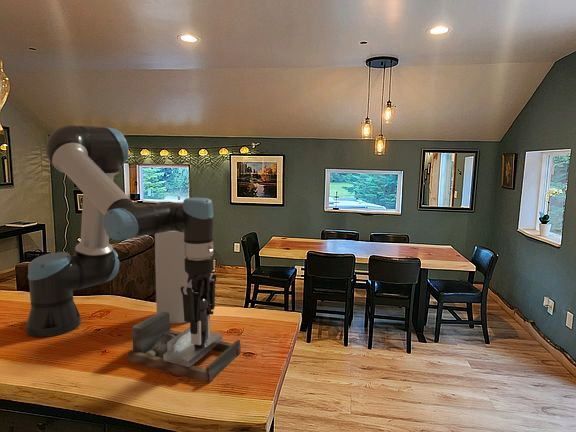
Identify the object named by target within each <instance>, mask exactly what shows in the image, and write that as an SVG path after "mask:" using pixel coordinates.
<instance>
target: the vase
mask: <svg viewBox="0 0 576 432" xmlns="http://www.w3.org/2000/svg"><path fill="white" fill-rule="evenodd" d="M154 250H155V251H154V254H155V255H154V256H155V257H154V260H155V261H154V262H155V302H156V303H155V304H156V314H157V313H159V312H161V311H162V312H167V313H169V318H170V325H177V324H179V325H180V324H185V323H186V322H185V321H184V309H183V295H182V292H181V287H182V286H183V287H185V286H186V285H187V284H188V283H187V280H188V274H187V273H186V272H185V262H184V259H185V258H186V257H185V256H184V232H178V231H167V232H162V233H156V234H154ZM196 293H197V292H196Z"/></svg>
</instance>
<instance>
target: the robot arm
mask: <svg viewBox="0 0 576 432" xmlns="http://www.w3.org/2000/svg"><path fill="white" fill-rule="evenodd" d="M128 144H129V143H128V141H127V139H126V137H125V135H124V134H123V133H122V132H121V131H120V130H119V129H117V128H112V127H107V126H92V125H88V126H87V125H77V124H67V125H63V126H61V127H58V128H56V129H55V130H53V131H52V132H51V133H50V135H49V136H48V137H47V140H46V142H45V154H46V157H47V159H48V161H49V162H50V164H51V165H52V166H53V168H54V169H56V170H57V171H58V172H60V173H64V174H66V176H67V177H68V178H69V179H70V180H71V181H72V182H73V184H75V186H76V187H77V188H78V189H79V190H80V191H81V192H82V207H81V209H82V212H81V228H80V241H79V242H78V244H76V245H75V247H74V254H71V253H69V252H66V251H57V252H51V253H46V254H43V255H40V256H37V257H35V258H33V260H31V261H30V262H29V264H28V265H27V266H28V267H27V268H28V272H27V279H28V285H29V297H30V299H29V300H30V310H29V314H28V318H27V321H26V324H25V330H26V334H27V335H29V336H31V337H35V338H37V337H38V338H45V337H46V338H47V337H53V336H54V337H55V336H58V335H63V334H65V333H69V332H72V331H73V330H75V329H77V328H78V327H79V326H80V325H81V323H82V321H81V320H82V319H81V318H82V317H81V314H80V312H79V310H78V307H77V306H76V303H75V302H74V291H77V290H81V289H85V288H89V287H93V286H96V285H103V284H104V283H106V282H110V281H112V280H113V279H115V278H116V276H117V274H118V272H119V269H120V259H119V255H118V253H117V251H116V250H115V249H114V247H113V245H112V244H110V239H111V240H113V241H114V240H115V241H117V240H118V241H119V240H131V239H135V238H138V237H144V236H149V235H155V234H156V233H162V232H167V231H178V232H184V256H185V257H186V258H185V259H184V262H185V272H186V273H187V274H188V280H187V283H188V284H187V285H186V286H185V287H183V286H182V287H181V292H182V295H183V309H184V321H185V323H189V327H190V333H191V343H192V344H196V345H201V321H199V312H200V299H201V297H203V298H205V299H206V300H207V302H208V307H207V339H209V338H210V332H211V331H210V329H211V328H210V326H211V325H210V322H211V321H210V317H211V315H212V316H213V315H214V310H215V308H216V307H215V306H216V304H215V303H216V281H217V277H218V276H217V274H213V271H214V269H215V266H214V264H215V260H214V257H213V255H214V217H215V216H214V215H215V214H214V207H213V201H212V199H210V198H208V197H187V198H184V199H183V202H182V203H177V202H172V201H159V202H157V203H155V204H149V205H140V206H139V205H137V204H136V203H135V202H134V201H133V200H132V199H131V198H130V197H129V196H128V195H127V194H126V193H125V192H124V191H123V190H122V189H121V188H120V187H119V186H118V185H117V184H116V183H115V182H114V179H115V176H116V175H118V174H119V173H120V166H122V165H124V164H126V163H127V161H128V160H129V156H130V150H129V145H128ZM196 292H197V293H196Z"/></svg>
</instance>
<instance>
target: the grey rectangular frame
mask: <svg viewBox="0 0 576 432" xmlns="http://www.w3.org/2000/svg"><path fill="white" fill-rule="evenodd" d="M170 325H171V324H170V318H169V313H167V312H162V311H161V312H159V313H157V312H156V313H155V314H154V315H151V316H150V317H148V318H146V319H144V320H142V321H141V322H138V323H137V324H135V325H133V326H132V327H131V335H132V349H131V350H130V351H128V352H127V362H130V363H133V364H136V365H141V366H145V367H147V368H153V369H156V370H159V371H164V372H166V373H167V372H168V373H170V374H174V375H178V376H181V377H185V378H189V379H193V380H196V381H200V382H205V383H207V384H210V383H212V381H213V380H214V379H215V378H217V376H218V375H219V374H220V373H221V372H222V371H223V370H224V369H225V368H227V367H228V366H229V364H231V363H232V362H233V361H234V360H235V359H236V358H237V357H238V356H240V355H241V349H242V347H241V340H240V339H237V340H236V341H234V342H233V343H231V342H227V341H223V340H222V341H221V342H220V343H219V344H217V345H216V346H215V347H214V348H212V349H211V350H210V351H214V352H220V353H221V354H220V355H218V356H217V357H216V358H215V359H214V360H213V361H212V362H211V363H209V364H208V365H207V366H206V367H205V368H204V367H199V366H196V365H192V366H190V367H186V366H182V365H178V364H174V363H170V362H166V361H164V359H163V357H157V356H153V355H149V354H145V353H146V352H148V351H150V350H151V348H152V347H153V345H154V344H155V343H156V341H157V340H158V339H159V338H160V337H161V336H162V334H164V333H170V334H173V335H175V336H177V335H179V334H180V333H182V332H183V331H182V332H181V331H178V330H172V329H171V326H170Z"/></svg>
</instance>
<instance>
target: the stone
mask: <svg viewBox="0 0 576 432" xmlns="http://www.w3.org/2000/svg"><path fill="white" fill-rule="evenodd" d="M174 337H176V336H175V335H173V334H170V333H164V334H162V336H161V337H160V338H159V339H158V340H157V341H156V343H155V344H154V345H153V347H152V348H151V350H150V351H148V352H146V353H145V354H149V355H153V356H157V357H161V358H163V354H165V353H166V352H167V342H168V341H170V340H171V339H173V338H174Z"/></svg>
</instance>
